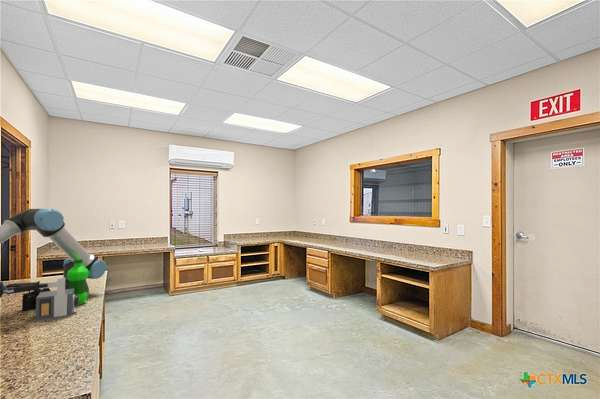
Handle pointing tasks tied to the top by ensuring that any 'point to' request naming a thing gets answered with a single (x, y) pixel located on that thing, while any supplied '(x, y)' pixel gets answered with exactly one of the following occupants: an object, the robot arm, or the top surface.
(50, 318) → the housing
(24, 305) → the camera
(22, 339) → the top surface
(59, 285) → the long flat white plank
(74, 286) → the plastic bottle
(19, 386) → the top surface
